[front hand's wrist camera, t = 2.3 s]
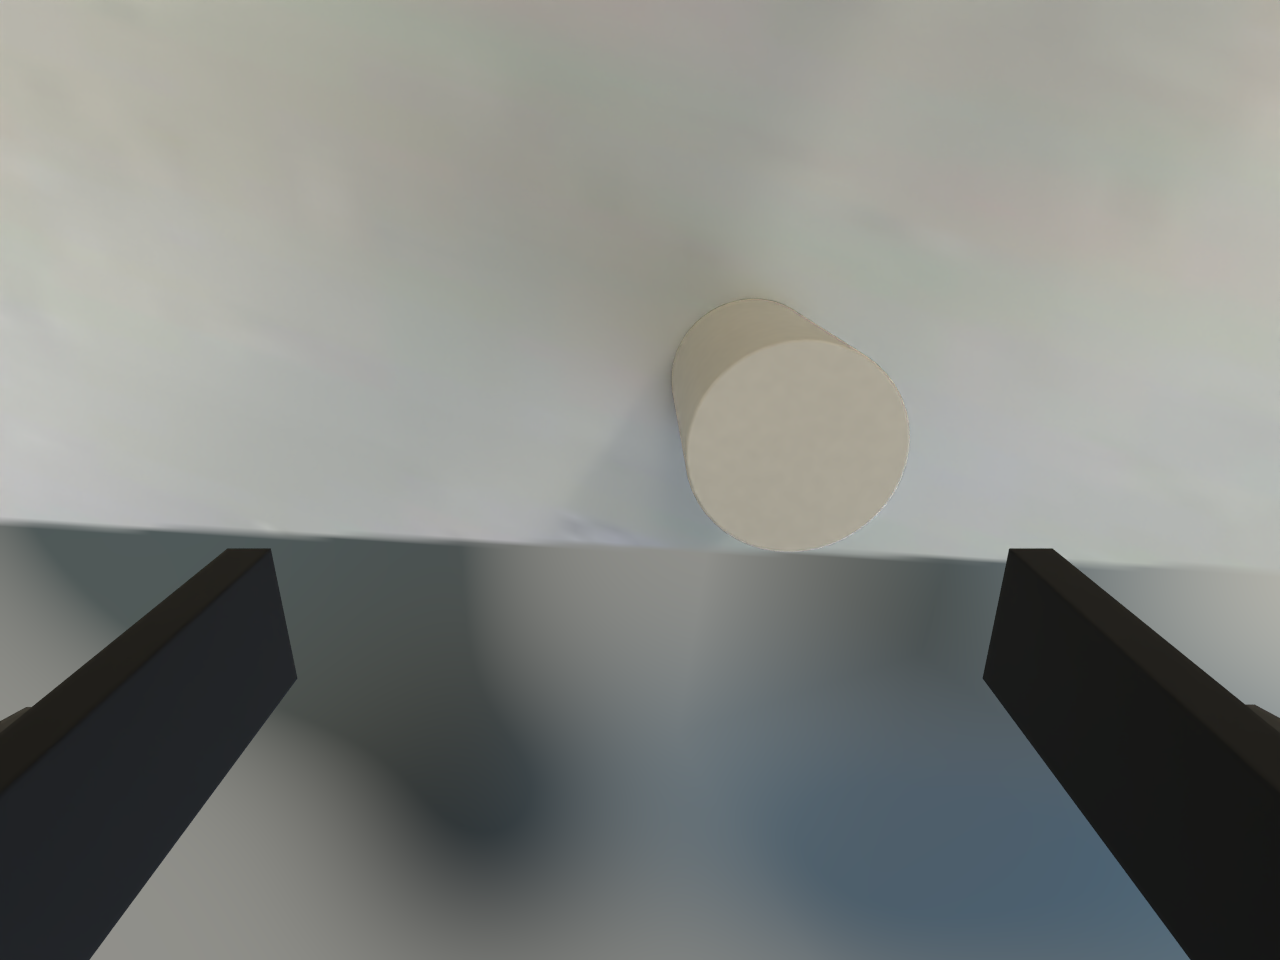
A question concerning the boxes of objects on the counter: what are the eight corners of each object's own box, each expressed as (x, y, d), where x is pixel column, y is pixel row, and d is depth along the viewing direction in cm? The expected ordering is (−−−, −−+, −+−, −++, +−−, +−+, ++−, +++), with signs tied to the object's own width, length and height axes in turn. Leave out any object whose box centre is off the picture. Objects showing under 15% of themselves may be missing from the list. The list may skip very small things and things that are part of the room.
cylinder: (642, 405, 30) (643, 489, 21) (725, 267, 28) (766, 293, 19) (769, 477, 31) (823, 587, 22) (858, 350, 29) (958, 412, 20)
